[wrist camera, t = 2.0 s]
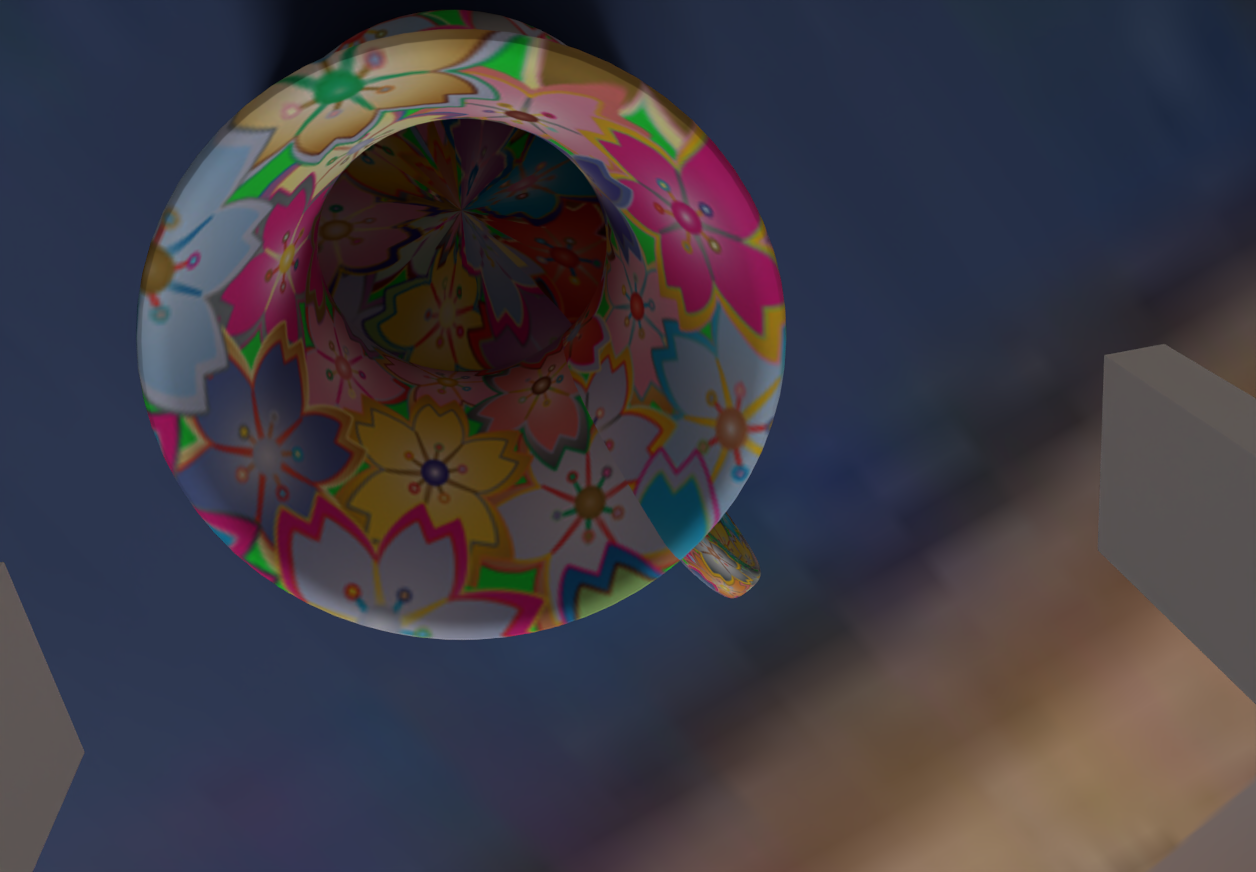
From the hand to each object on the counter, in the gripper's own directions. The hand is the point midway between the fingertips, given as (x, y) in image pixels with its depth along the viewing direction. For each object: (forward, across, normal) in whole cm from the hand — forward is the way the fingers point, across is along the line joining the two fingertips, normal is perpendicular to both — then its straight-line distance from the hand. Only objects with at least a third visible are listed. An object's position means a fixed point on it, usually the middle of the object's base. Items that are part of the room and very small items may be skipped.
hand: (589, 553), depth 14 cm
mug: (+14, 0, 0) cm, 15 cm away
